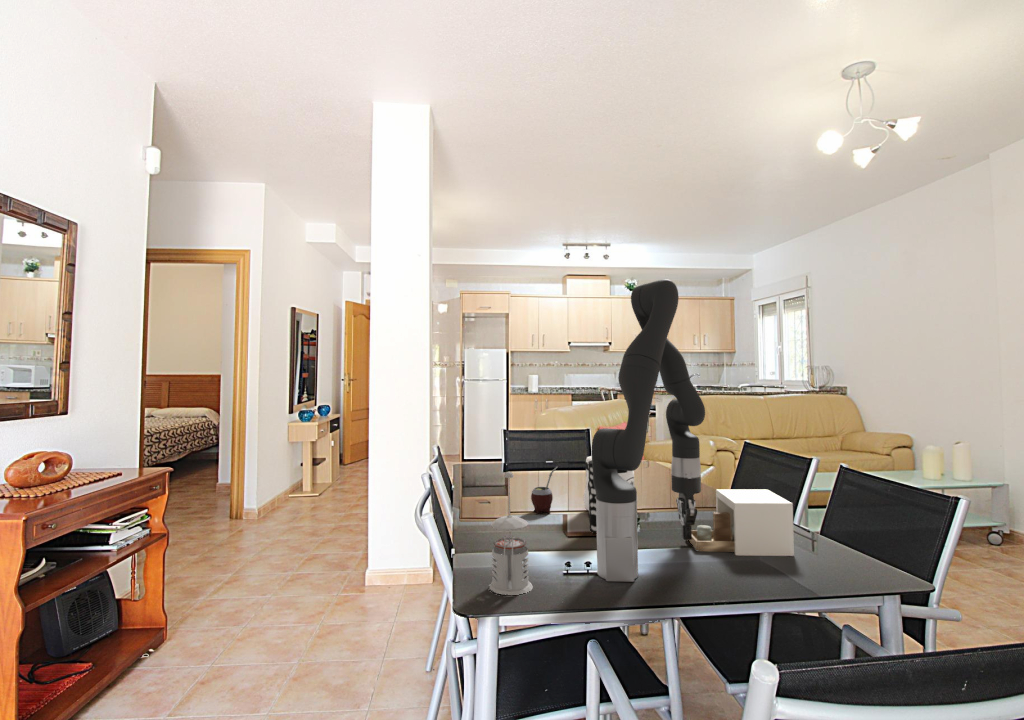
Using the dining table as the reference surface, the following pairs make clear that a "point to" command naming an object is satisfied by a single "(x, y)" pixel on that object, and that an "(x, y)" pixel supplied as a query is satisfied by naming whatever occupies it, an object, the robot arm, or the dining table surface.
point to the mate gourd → (542, 498)
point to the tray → (712, 544)
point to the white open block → (758, 521)
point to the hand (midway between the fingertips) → (686, 538)
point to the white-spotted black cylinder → (592, 501)
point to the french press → (510, 556)
